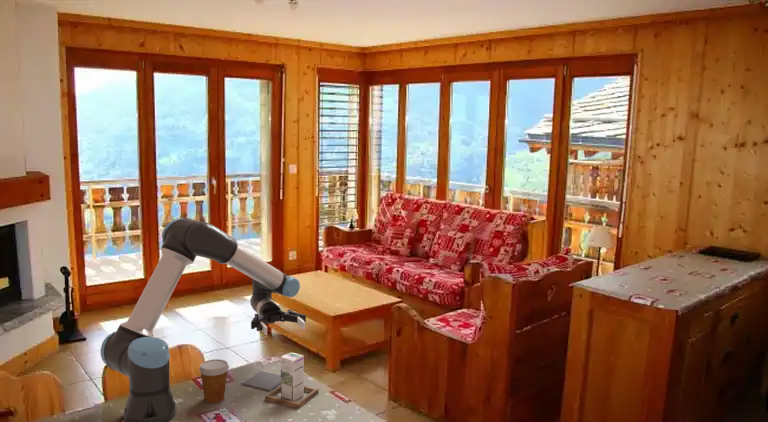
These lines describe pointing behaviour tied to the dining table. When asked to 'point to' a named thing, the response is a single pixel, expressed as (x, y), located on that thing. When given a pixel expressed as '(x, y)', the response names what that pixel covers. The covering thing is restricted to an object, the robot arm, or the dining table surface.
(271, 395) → the walnut holder frame
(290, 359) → the syrup box
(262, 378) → the rubber mat
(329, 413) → the dining table surface
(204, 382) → the disposable coffee cup
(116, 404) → the dining table surface
